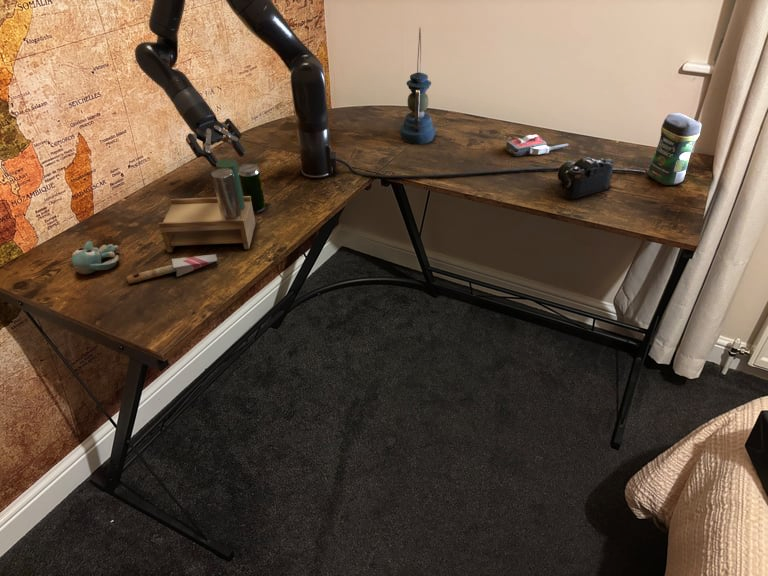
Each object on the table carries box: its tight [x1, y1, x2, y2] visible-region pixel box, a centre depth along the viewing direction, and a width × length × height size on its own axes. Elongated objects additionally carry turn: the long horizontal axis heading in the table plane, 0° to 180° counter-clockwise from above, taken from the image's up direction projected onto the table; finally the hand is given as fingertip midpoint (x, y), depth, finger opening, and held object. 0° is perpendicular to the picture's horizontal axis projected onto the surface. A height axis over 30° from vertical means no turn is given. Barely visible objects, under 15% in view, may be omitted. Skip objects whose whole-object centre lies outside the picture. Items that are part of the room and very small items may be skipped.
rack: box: [158, 158, 257, 253], centre depth 135 cm, size 20×12×19 cm, turn 93°
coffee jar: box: [647, 112, 702, 186], centre depth 156 cm, size 10×8×19 cm
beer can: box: [238, 163, 266, 214], centre depth 148 cm, size 5×5×12 cm
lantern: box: [399, 28, 436, 145], centre depth 177 cm, size 14×12×35 cm
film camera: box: [557, 156, 615, 200], centre depth 155 cm, size 18×12×10 cm
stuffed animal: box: [71, 240, 120, 275], centre depth 130 cm, size 11×7×12 cm
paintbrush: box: [126, 253, 218, 285], centre depth 128 cm, size 4×3×20 cm
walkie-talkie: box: [505, 133, 569, 157], centre depth 177 cm, size 9×4×20 cm
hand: (230, 160), depth 148 cm, fingers open, 8 cm apart
